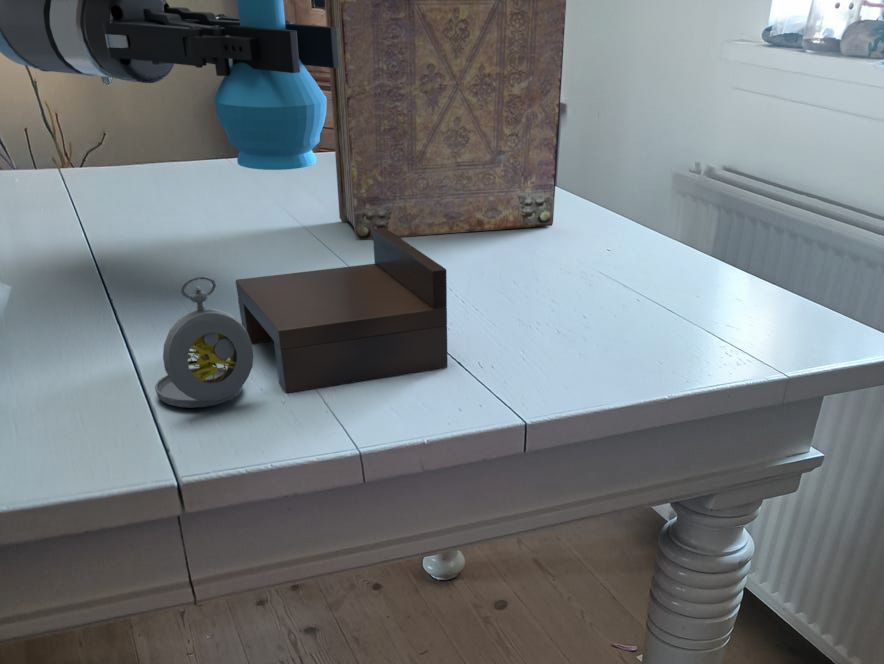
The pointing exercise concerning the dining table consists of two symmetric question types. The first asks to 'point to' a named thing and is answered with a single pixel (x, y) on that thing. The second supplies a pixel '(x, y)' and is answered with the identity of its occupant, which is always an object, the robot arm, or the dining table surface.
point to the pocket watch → (204, 356)
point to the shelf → (351, 317)
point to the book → (446, 113)
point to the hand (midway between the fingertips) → (315, 49)
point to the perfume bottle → (270, 104)
